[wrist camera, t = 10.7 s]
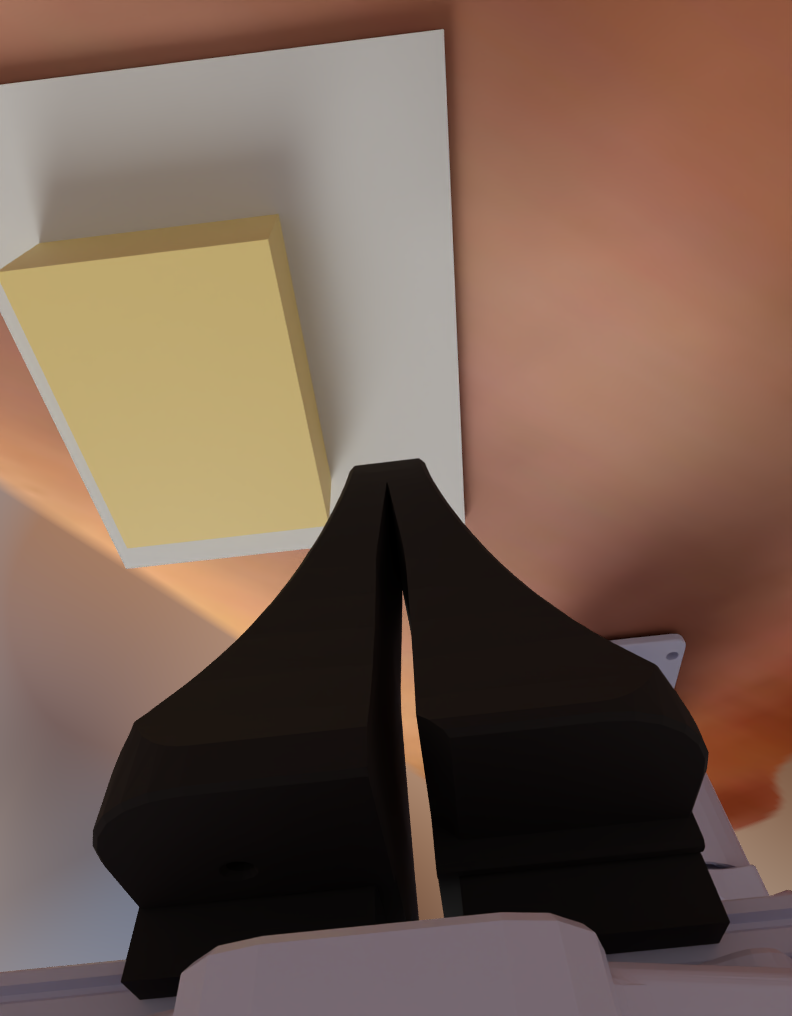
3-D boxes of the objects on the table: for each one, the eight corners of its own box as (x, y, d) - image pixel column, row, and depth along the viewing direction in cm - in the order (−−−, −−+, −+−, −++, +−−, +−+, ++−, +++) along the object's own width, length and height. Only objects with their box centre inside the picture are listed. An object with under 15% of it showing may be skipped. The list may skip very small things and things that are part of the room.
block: (329, 525, 18) (127, 548, 19) (331, 479, 20) (148, 500, 20) (267, 239, 14) (-6, 272, 14) (278, 213, 15) (39, 243, 16)
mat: (463, 522, 22) (465, 531, 22) (130, 559, 23) (126, 568, 22) (441, 29, 14) (443, 29, 13) (-92, 96, 14) (-105, 98, 14)
